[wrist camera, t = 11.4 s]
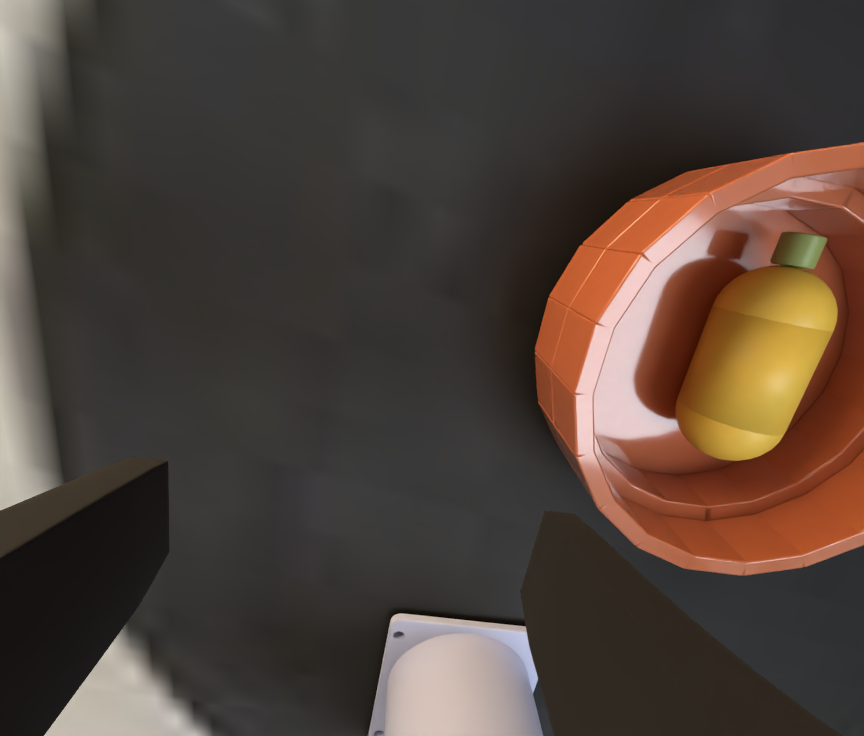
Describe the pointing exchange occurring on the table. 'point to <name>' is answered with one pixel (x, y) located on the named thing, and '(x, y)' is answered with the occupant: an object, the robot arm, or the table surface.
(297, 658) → the table surface
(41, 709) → the robot arm
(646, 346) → the basin
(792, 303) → the yellow squeeze bottle
